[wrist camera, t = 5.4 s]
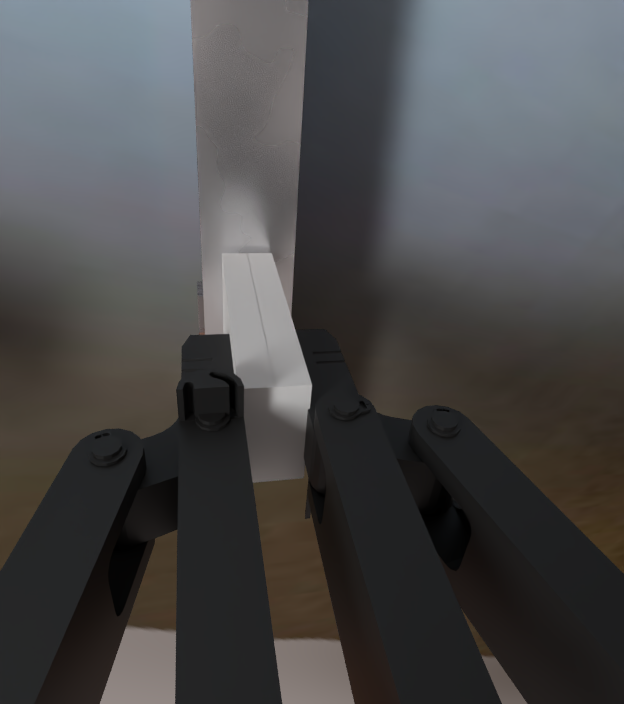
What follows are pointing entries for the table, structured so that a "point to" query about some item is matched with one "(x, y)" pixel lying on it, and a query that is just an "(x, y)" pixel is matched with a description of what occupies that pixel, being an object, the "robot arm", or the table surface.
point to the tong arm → (247, 134)
